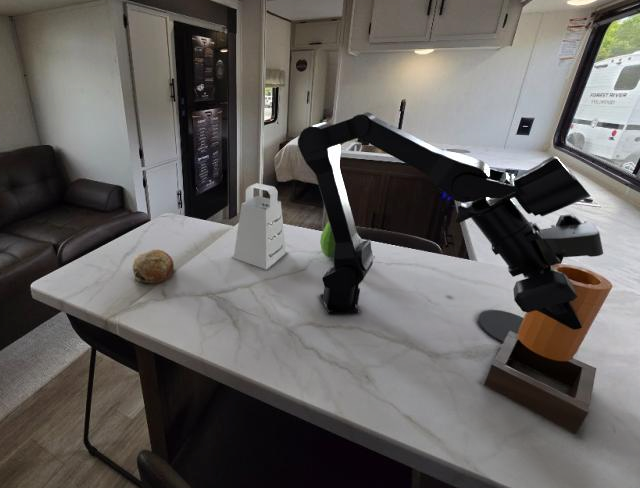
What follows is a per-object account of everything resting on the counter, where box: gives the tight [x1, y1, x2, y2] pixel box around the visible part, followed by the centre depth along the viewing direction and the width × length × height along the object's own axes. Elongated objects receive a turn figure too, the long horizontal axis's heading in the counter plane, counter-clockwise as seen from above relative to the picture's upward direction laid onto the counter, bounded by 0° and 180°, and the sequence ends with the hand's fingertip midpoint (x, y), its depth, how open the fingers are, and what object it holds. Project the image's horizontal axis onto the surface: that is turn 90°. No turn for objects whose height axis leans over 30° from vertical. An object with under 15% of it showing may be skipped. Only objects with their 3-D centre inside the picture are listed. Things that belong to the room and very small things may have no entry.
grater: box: [233, 182, 287, 270], centre depth 90 cm, size 10×10×20 cm
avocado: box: [319, 220, 335, 260], centre depth 90 cm, size 8×8×12 cm
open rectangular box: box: [483, 331, 597, 435], centre depth 54 cm, size 11×11×4 cm
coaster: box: [477, 309, 524, 344], centre depth 67 cm, size 11×11×1 cm
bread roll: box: [132, 249, 174, 284], centre depth 85 cm, size 10×10×8 cm
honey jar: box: [517, 263, 613, 361], centre depth 52 cm, size 7×7×13 cm
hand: (573, 314), depth 51 cm, fingers closed on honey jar, 7 cm apart
